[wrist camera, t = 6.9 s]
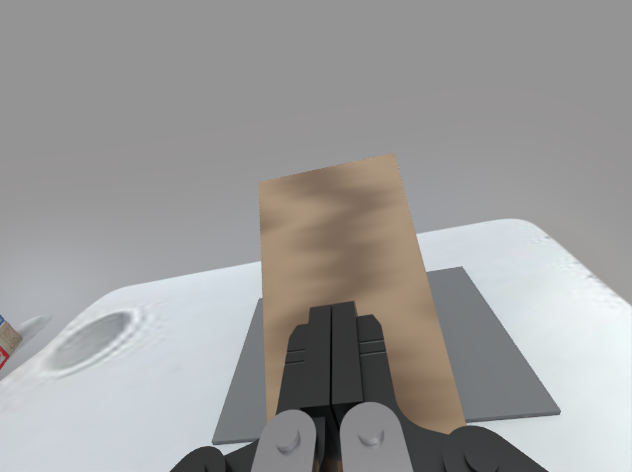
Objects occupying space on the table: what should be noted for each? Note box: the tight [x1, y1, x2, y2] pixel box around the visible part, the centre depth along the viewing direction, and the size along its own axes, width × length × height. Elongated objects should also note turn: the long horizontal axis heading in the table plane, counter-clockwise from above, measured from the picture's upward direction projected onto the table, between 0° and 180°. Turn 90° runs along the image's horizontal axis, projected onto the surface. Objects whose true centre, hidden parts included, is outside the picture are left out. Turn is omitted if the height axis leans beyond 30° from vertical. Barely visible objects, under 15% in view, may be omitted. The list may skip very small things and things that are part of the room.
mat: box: [212, 267, 561, 445], centre depth 24 cm, size 20×14×1 cm
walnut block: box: [259, 153, 467, 472], centre depth 17 cm, size 8×5×16 cm
